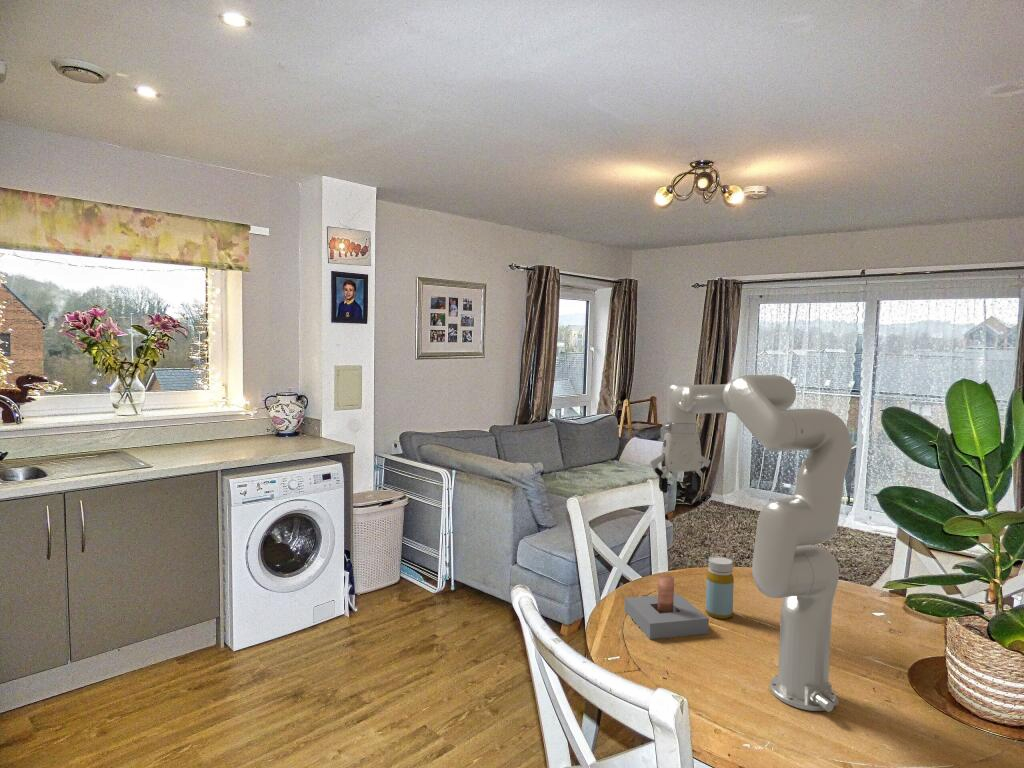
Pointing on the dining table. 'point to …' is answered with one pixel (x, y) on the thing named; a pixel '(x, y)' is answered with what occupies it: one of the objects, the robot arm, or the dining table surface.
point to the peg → (665, 594)
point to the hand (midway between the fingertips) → (679, 490)
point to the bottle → (719, 588)
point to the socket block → (666, 617)
